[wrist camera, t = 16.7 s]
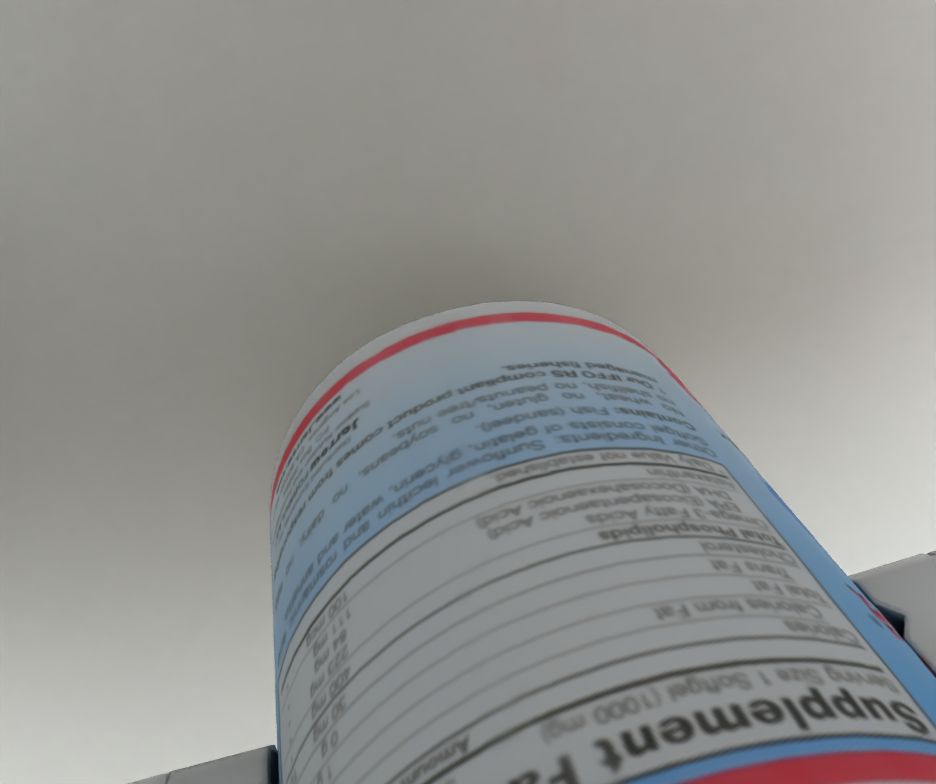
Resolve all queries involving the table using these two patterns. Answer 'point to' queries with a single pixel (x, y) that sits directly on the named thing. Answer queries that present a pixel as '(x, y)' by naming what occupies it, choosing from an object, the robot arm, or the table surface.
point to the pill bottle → (561, 580)
